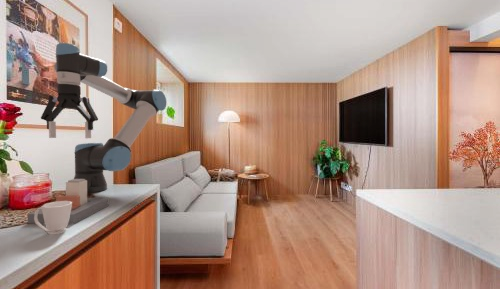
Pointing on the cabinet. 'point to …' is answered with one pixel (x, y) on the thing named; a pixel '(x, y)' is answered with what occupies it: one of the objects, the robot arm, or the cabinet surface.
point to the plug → (77, 189)
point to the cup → (55, 216)
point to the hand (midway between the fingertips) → (70, 138)
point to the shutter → (73, 199)
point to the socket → (76, 211)
